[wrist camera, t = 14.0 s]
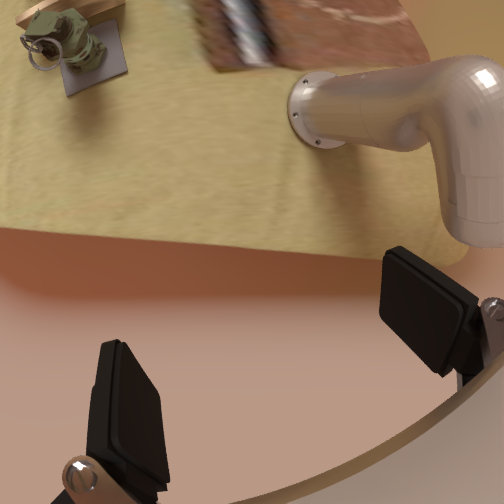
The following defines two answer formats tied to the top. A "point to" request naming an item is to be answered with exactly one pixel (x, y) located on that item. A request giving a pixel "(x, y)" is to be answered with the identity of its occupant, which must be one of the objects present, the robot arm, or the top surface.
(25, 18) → the light wood u-shaped frame
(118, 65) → the coaster
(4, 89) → the top surface
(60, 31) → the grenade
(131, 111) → the top surface
